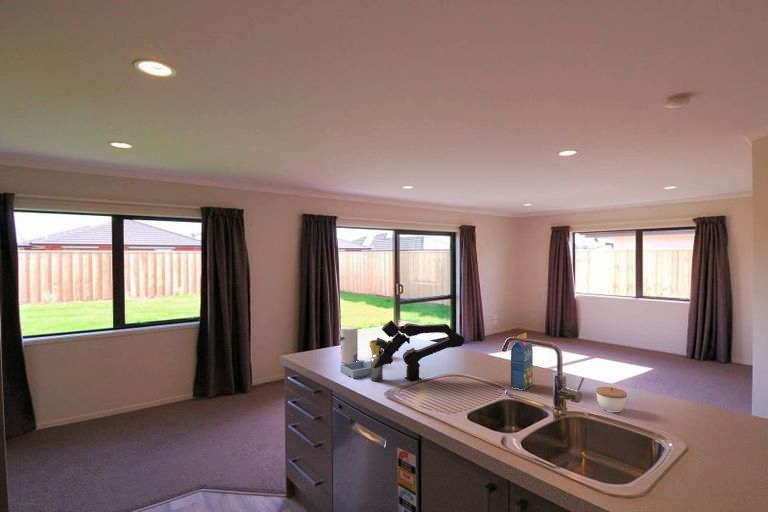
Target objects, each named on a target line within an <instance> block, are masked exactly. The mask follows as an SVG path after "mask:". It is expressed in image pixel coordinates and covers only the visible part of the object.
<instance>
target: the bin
mask: <svg viewBox="0 0 768 512" xmlns="http://www.w3.org/2000/svg"><path fill="white" fill-rule="evenodd" d="M339 366H340V371H339V372H340V373H341V372H342V373H341V374H343V373H344V374H343V375H345V374H346V375H345V376H347V375H348V376H347V377H349V376H350V377H349V378H351V377H352V378H355V379H358V378H357V377H360V378H363V377H362V376H365V377H368V376H367V375H370V376H371V363H369V362H367V361H365V360H360V361H359V360H358V361H357V362H353V363H341V364H340V365H339ZM352 378H351V379H352Z"/></svg>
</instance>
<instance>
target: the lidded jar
mask: <svg viewBox="0 0 768 512" xmlns="http://www.w3.org/2000/svg"><path fill="white" fill-rule="evenodd" d="M595 392H596V400H597V401H596V402H597V403H598V405H599V406H600V407H601V408H602V410H603V409H606V410H610V411H620V412H621V411H623V410H624V408H625V407H626V404H627V396H628V394H627V392H626V391H625V390H622V389H620V388H617V387H613V386H599V387H597V388H595Z"/></svg>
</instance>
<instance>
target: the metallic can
mask: <svg viewBox="0 0 768 512" xmlns="http://www.w3.org/2000/svg"><path fill="white" fill-rule="evenodd" d="M379 358H380V355H379V354H375V355H373V357H372V356H371V358H370V364H371V375H370V381H374V382H379V381H383V379H384V378H383V377H384V376H383V374H384V373H383V372H384V370H383V369H384V368H383V367H384V365H383V366H380V367H378V368H374V366H375V364H376V363H377V361H378V360H379Z"/></svg>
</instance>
